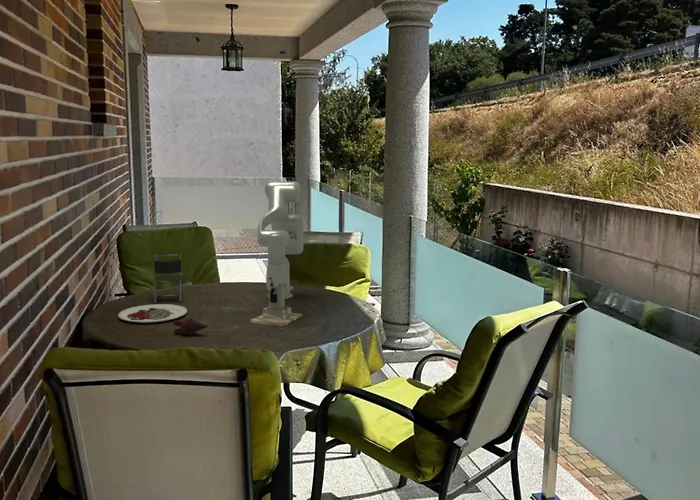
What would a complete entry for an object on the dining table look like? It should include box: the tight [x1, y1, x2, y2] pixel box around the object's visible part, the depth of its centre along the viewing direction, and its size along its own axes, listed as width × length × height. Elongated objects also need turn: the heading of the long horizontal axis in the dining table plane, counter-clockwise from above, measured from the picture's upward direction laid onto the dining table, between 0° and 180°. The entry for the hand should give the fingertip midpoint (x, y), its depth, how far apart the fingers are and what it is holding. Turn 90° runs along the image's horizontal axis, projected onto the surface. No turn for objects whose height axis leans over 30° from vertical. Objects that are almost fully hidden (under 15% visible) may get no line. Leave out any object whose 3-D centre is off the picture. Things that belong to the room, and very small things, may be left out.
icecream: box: [172, 318, 209, 336], centre depth 269 cm, size 7×8×15 cm
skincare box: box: [268, 284, 286, 311], centre depth 291 cm, size 6×4×12 cm
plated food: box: [117, 303, 188, 324], centre depth 298 cm, size 30×30×3 cm
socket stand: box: [250, 306, 304, 328], centre depth 293 cm, size 18×16×5 cm
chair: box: [152, 252, 183, 304], centre depth 327 cm, size 13×17×22 cm
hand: (277, 300), depth 292 cm, fingers closed on skincare box, 5 cm apart
